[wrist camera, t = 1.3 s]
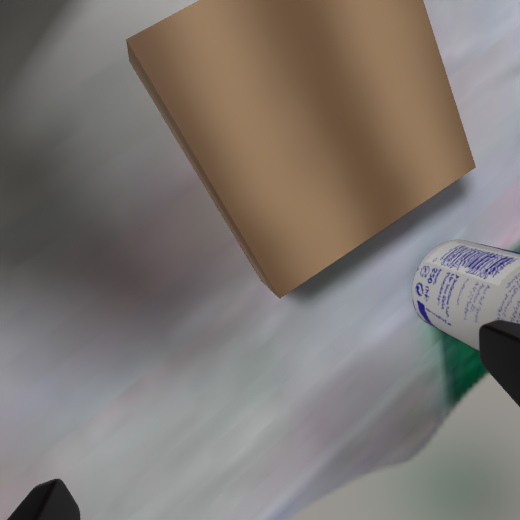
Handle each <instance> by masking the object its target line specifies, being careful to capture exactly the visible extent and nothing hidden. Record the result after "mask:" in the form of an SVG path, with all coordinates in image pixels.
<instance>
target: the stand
mask: <svg viewBox="0 0 520 520" xmlns="http://www.w3.org/2000/svg"><path fill="white" fill-rule="evenodd" d="M126 41H127V48H128V54H129V61H130V63H131V65H132V66H133V68H134V70H135V71H136V73H137V75H138V76H139V78H140V80H141V81H142V83H143V85H144V86H145V88H146V90H147V91H148V93H149V95H150V96H151V98H152V100H153V101H154V103H155V105H156V106H157V108H158V110H159V111H160V113H161V115H162V116H163V118H164V120H165V121H166V123H167V125H168V126H169V128H170V130H171V131H172V133H173V135H174V136H175V138H176V140H177V141H178V143H179V145H180V146H181V148H182V150H183V151H184V153H185V155H186V156H187V158H188V160H189V161H190V163H191V165H192V166H193V168H194V170H195V171H196V173H197V175H198V176H199V178H200V180H201V181H202V183H203V185H204V186H205V188H206V190H207V191H208V193H209V195H210V196H211V198H212V200H213V201H214V203H215V205H216V206H217V208H218V210H219V211H220V213H221V215H222V216H223V218H224V220H225V221H226V223H227V224H228V226H229V228H230V229H231V231H232V233H233V234H234V236H235V238H236V239H237V241H238V243H239V244H240V246H241V248H242V249H243V251H244V253H245V254H246V256H247V258H248V259H249V261H250V263H251V264H252V266H253V268H254V269H255V271H256V273H257V274H258V276H259V278H260V279H261V281H262V282H263V283H264V284H265V285H266V286H267V287H268V288H269V289H270V290H271V291H272V292H273V293H274V294H275V295H276V296H277V297H279V298H281V297H283V296H284V295H286V294H287V293H289V292H290V291H292V290H293V289H295V288H296V287H298V286H299V285H301V284H302V283H304V282H305V281H307V280H308V279H310V278H311V277H313V276H314V275H316V274H317V273H319V272H320V271H322V270H323V269H325V268H326V267H328V266H329V265H331V264H332V263H334V262H335V261H337V260H338V259H340V258H341V257H343V256H344V255H346V254H347V253H349V252H350V251H352V250H353V249H355V248H356V247H357V246H359V245H360V244H362V243H363V242H365V241H366V240H368V239H369V238H371V237H372V236H374V235H375V234H377V233H378V232H380V231H381V230H383V229H384V228H386V227H387V226H389V225H390V224H392V223H393V222H395V221H396V220H398V219H399V218H401V217H402V216H404V215H405V214H407V213H408V212H410V211H411V210H413V209H414V208H416V207H417V206H419V205H420V204H422V203H423V202H425V201H426V200H428V199H429V198H431V197H432V196H434V195H435V194H437V193H438V192H440V191H441V190H443V189H444V188H446V187H447V186H449V185H450V184H452V183H453V182H455V181H456V180H458V179H459V178H461V177H462V176H464V175H465V174H467V173H468V172H470V171H471V170H473V169H474V168H476V166H475V163H474V160H473V157H472V154H471V151H470V147H469V144H468V141H467V138H466V135H465V132H464V129H463V125H462V122H461V119H460V116H459V113H458V110H457V106H456V103H455V100H454V97H453V94H452V91H451V87H450V84H449V81H448V78H447V75H446V72H445V68H444V65H443V62H442V59H441V56H440V53H439V50H438V46H437V43H436V40H435V37H434V34H433V31H432V27H431V24H430V21H429V18H428V15H427V12H426V8H425V5H424V2H423V0H199V1H197V2H195V3H193V4H192V5H190V6H188V7H186V8H184V9H182V10H180V11H179V12H177V13H175V14H173V15H171V16H169V17H167V18H166V19H164V20H162V21H160V22H158V23H156V24H154V25H153V26H151V27H149V28H147V29H145V30H143V31H141V32H139V33H138V34H136V35H134V36H132V37H130V38H128V39H126Z"/></svg>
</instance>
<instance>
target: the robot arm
mask: <svg viewBox="0 0 520 520" xmlns="http://www.w3.org/2000/svg"><path fill="white" fill-rule="evenodd" d="M479 356H480V360H481V362H482V364H483V366H484V367H485V368H486V369H487V371H488V372H489V373H490V374H491V375H492V376H493V377H494V378H495V379H496V380H497V382H498V383H499V384H500V385H501V386H502V387H503V389H504V390H505V391H506V392H507V393H508V394H509V395H510V396H511V398H512V399H513V400H514V401H515V402H516V403H517V404H518V405H519V407H520V324H519V323H514V322H509V321H504V320H494V321H492V322H489V323H486V324H483V325H482V326H481V327H480V329H479ZM7 520H80V511H79V508H78V505H77V503H76V502H75V500H74V498H73V497H72V495H71V494H70V492H69V490H68V489H67V487H66V485H65V484H64V482H63V481H62V480H60V479H53V480H50V481H48V482H45V483H42V484H39V485H38V486H36V487H34V488H33V490H32V491H31V492H30V493H29V494H28V495H27V497H26V498H25V499H24V500H23V501H22V502H21V504H20V505H19V506H18V507H17V508H16V510H15V511H14V512H13V513H12V514H11V516H10V517H9V518H8V519H7Z"/></svg>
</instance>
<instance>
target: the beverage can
mask: <svg viewBox="0 0 520 520" xmlns="http://www.w3.org/2000/svg"><path fill="white" fill-rule="evenodd" d="M412 298H413V303H414V307H415V309H416V311H417V313H418V315H419V316H420V317H421V318H422V319H423V320H424V321H425V322H427V323H429V324H431V325H433V326H435V327H436V328H438V329H440V330H442V331H444V332H446V333H447V334H449V335H451V336H453V337H455V338H457V339H458V340H460V341H462V342H464V343H466V344H468V345H469V346H471V347H473V348H475V349H477V350H478V351H479V329H480V327H481V326H482V325H483V324H486V323H489V322H492V321H494V320H504V321H509V322H514V323H519V324H520V253H518V252H513V251H509V250H504V249H500V248H495V247H491V246H487V245H482V244H478V243H473V242H469V241H465V240H451V241H447V242H445V243H442V244H440V245H439V246H437V247H436V248H434V249H433V250H432V251H431V252H430V253H429V254H428V255H427V256H426V257H425V258H424V260H423V261H422V262H421V264H420V266H419V267H418V269H417V272H416V275H415V277H414V281H413V286H412Z"/></svg>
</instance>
